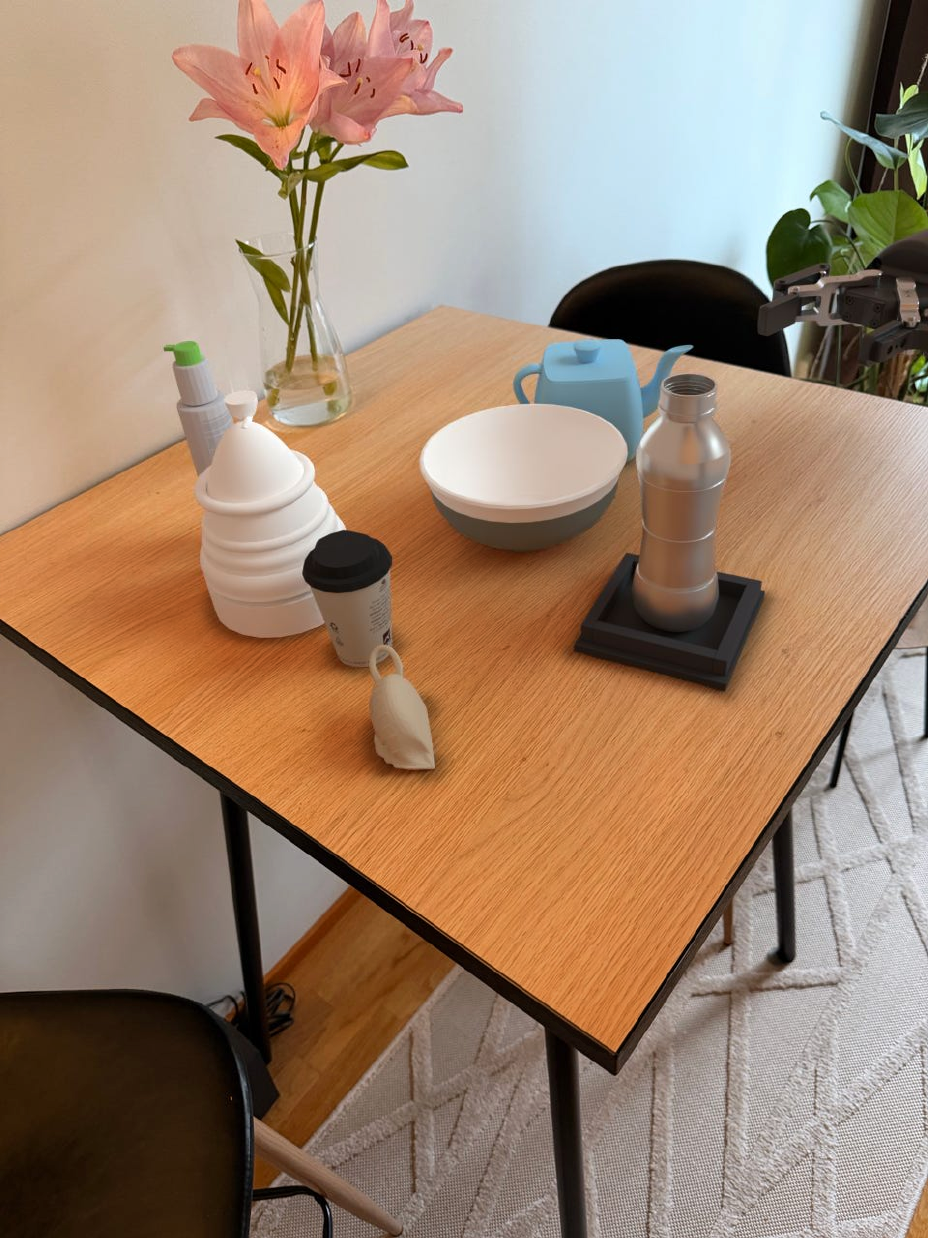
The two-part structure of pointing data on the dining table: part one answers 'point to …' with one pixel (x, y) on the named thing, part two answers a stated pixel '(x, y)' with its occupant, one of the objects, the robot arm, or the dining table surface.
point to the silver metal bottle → (680, 505)
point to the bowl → (524, 474)
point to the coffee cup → (352, 593)
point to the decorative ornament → (399, 718)
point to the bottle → (199, 403)
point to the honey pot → (260, 528)
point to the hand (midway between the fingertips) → (811, 336)
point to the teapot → (599, 383)
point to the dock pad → (674, 654)
